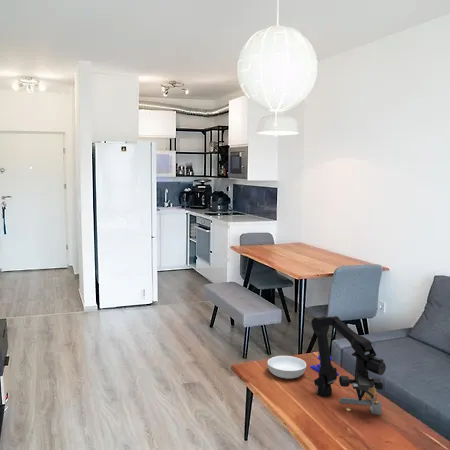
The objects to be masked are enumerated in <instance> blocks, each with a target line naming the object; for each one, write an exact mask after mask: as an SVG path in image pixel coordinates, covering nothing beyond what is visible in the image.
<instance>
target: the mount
mask: <svg viewBox="0 0 450 450" xmlns="http://www.w3.org/2000/svg"><path fill="white" fill-rule="evenodd" d="M317 356H318V357H317V359H318V360H319V363H318V364H316V365H314V364H312V365H310V366H309V369H311V368H312V369H311V370H313V371H315V372H317V374H319V370H320V367H321V361H320V354H319V355H317ZM330 359H331V362H332V360H333V357H332V355H330ZM337 375H338V376H337V377H340V373H339V372H337Z"/></svg>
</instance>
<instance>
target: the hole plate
mask: <svg viewBox="0 0 450 450" xmlns="http://www.w3.org/2000/svg"><path fill="white" fill-rule="evenodd" d="M339 403H340V404H348V405H349V404H350V405H361V406H362V405H363V406H371V400H369V399H367V398H365V399H364V398H362V399H361V401H359V399H358V398H353V397H352V398H351V397H342V396H341V397H339ZM345 409H346V411H347V412H350V411H352V409H351V407H349V406H348V407H346V408H345Z"/></svg>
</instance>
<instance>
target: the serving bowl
mask: <svg viewBox="0 0 450 450" xmlns="http://www.w3.org/2000/svg"><path fill="white" fill-rule="evenodd" d="M267 369H268V370H269V371H270V373H271V374H272V375H274V376H276V377H278V378H282V379H288V380H289V379H297V378H299V377H301V376H302V375H304V373H305V371H306V369H307V363H306V361H305V360H303V359H302V358H299V357H296V356H291V355H276V356H273V357H270V358H269V359H268V360H267Z"/></svg>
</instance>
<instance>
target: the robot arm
mask: <svg viewBox="0 0 450 450" xmlns="http://www.w3.org/2000/svg"><path fill="white" fill-rule="evenodd" d="M330 326H331V327H332V328H333V329H334V330H336V331H337V333H339V334H340V335H341V336H343V337H344V338H345V339H346V340H347V341H348V342H349V343H350V346H351V348H352V349H353V350H354V352H352V353H351V356H353V357H354V358H355V365H354V367H355V368H354V379H353V378H352V379H351V378H349V376H348V375H339V376H338V375H337V373H338V371H337V370H338V369H337V367H334V366H333V364H332V361H331V359H330V356H331V353H330V347H329V346H330V345H329V340H328V333H329V331H330ZM311 327H312V330H313V332H314V334H315V335H316V339H317V345H318V353H319V355H320V360H319V362H320V361H321V367H320V370H319V373H318V377H317V378H315V379H314V380H313V382H314V386H316V395H317V396H320V397H321V398H323V397H325V398H327V397H332V396H333V388H332V385H333V384H334V383H335V382H336V381H337V379H338V383H339V386H340V387H345V388H348V387H349V386H350V384H351V386H352V388H353V390H355V392H356V395H357V399H359V401H361V399H363V398H364V396H363V395H364V393H365V392H366V391H368V390H370V388H372V387H375V388H376V390H384V383H383V380H382V379H381V378H376V377H374V378H371V377H369V372H371V373H373V374H376V375H378V376H383V375H384V374H385V372H386V368H387V366H386V363H385V362H384V359H382V358H378V357H377V353H376V351H375V350H374V347H373V346H372V342H371V341H370V340H369V339H368V338H366V337H365V336H362V335H359V334H357V333H356V332H355V331H354V330H353V329H351V328H350V327H349V326H348V325H347V324H346V323H345V322H343V321H342V320H341V319H340V317H339V316H337V315H334V316H326V315H320V316H317V317H314V318H313V319H312V320H311ZM338 377H339V378H338ZM370 378H371V379H370Z"/></svg>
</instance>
